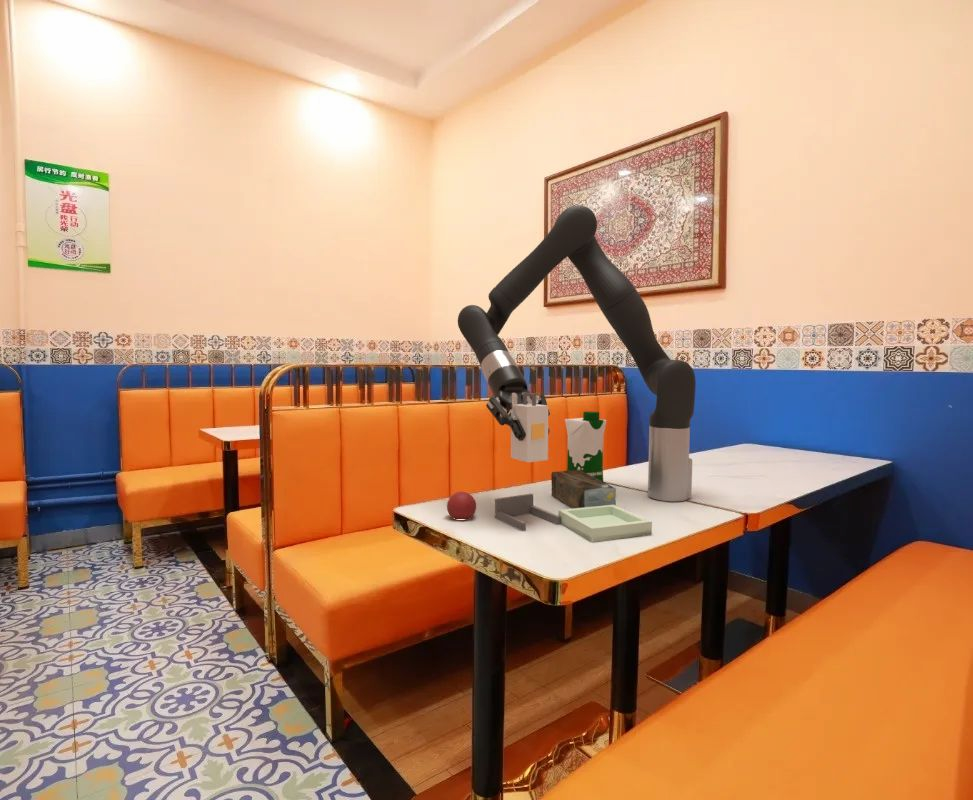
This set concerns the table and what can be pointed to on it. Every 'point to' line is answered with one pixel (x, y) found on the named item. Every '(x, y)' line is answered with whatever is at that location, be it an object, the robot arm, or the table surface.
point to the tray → (604, 523)
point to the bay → (520, 510)
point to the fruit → (461, 505)
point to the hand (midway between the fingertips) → (534, 437)
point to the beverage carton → (581, 489)
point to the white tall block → (531, 431)
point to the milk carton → (586, 444)
